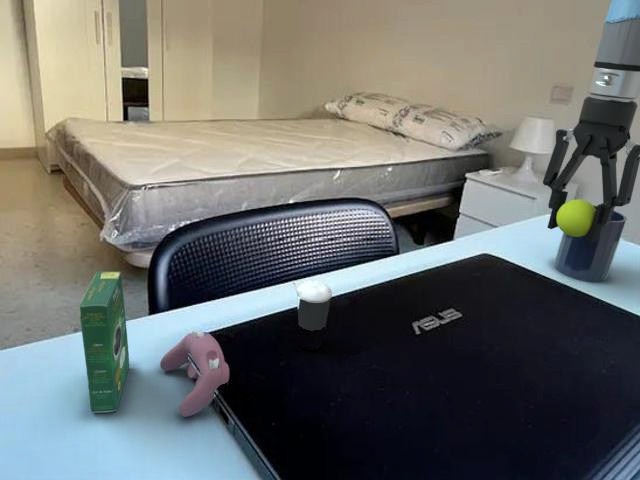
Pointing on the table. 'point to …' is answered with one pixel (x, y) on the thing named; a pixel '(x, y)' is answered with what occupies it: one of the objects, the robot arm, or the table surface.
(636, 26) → the robot arm
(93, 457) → the table surface
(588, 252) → the tube
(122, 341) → the coffee box
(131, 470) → the table surface
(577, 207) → the tennis ball
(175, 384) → the table surface
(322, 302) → the milkshake
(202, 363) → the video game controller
